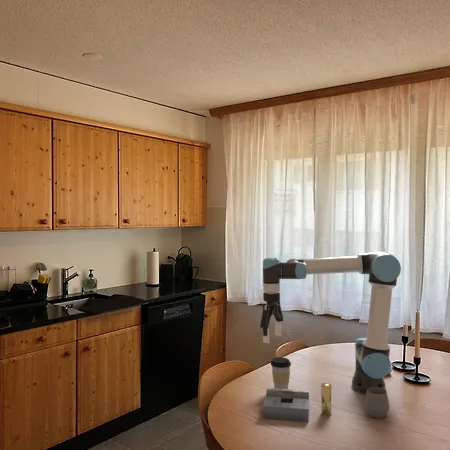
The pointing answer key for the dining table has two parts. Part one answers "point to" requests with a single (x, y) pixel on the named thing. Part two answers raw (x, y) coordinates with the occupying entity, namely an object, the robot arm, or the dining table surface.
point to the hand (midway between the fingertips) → (272, 339)
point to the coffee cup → (280, 372)
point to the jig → (286, 404)
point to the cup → (376, 402)
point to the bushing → (326, 399)
